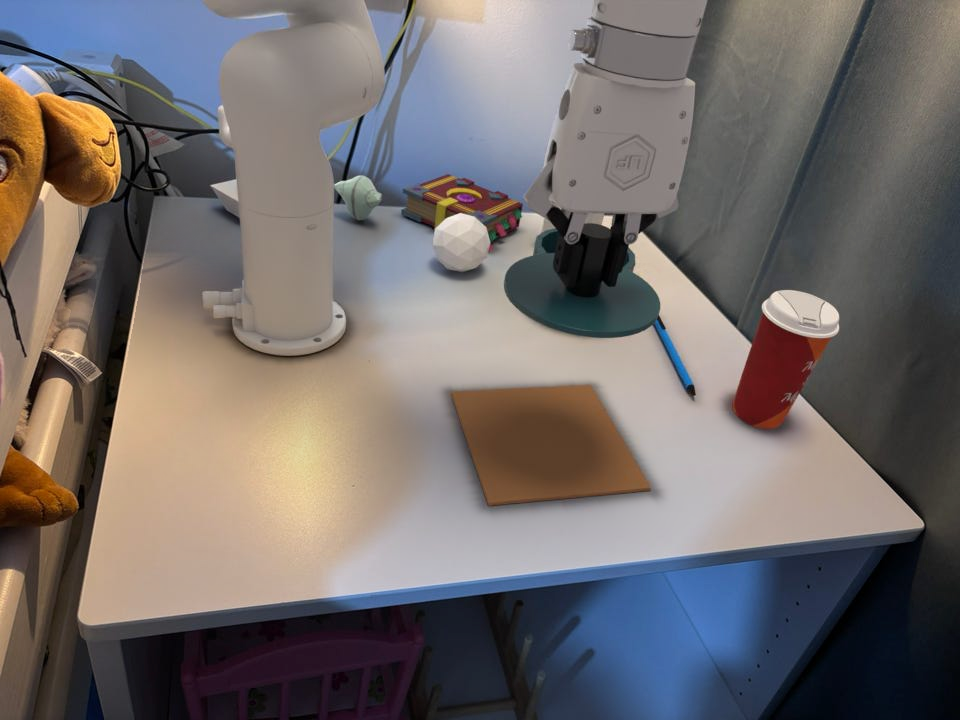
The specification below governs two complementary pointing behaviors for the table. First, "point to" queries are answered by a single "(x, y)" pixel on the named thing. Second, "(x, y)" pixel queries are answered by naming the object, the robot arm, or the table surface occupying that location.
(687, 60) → the robot arm
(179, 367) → the table surface
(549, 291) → the lid
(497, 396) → the mat
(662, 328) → the pen
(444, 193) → the decorative book
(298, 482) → the table surface
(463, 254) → the geometric ball
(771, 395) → the paper cup
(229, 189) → the figurine
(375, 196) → the pale green seashell
